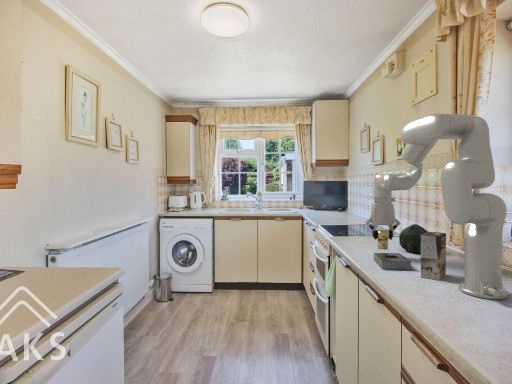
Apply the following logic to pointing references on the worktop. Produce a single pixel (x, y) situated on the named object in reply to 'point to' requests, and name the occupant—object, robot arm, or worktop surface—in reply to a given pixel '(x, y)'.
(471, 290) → the robot arm
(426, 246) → the coffee box
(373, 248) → the worktop surface
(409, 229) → the squash
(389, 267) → the block
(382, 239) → the end cover
